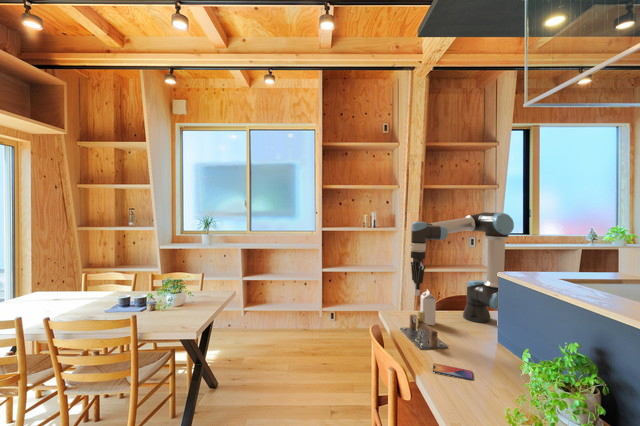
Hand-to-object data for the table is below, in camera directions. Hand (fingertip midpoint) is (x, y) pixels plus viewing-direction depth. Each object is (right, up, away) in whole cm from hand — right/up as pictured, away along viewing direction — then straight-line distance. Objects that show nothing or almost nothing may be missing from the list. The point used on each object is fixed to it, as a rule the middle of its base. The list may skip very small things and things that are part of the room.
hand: (416, 295), depth 175 cm
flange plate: (+1, -20, -7) cm, 21 cm away
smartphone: (+2, -22, -41) cm, 47 cm away
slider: (0, -19, -5) cm, 19 cm away
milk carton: (+11, -20, +16) cm, 28 cm away
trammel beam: (+1, -20, -7) cm, 21 cm away
